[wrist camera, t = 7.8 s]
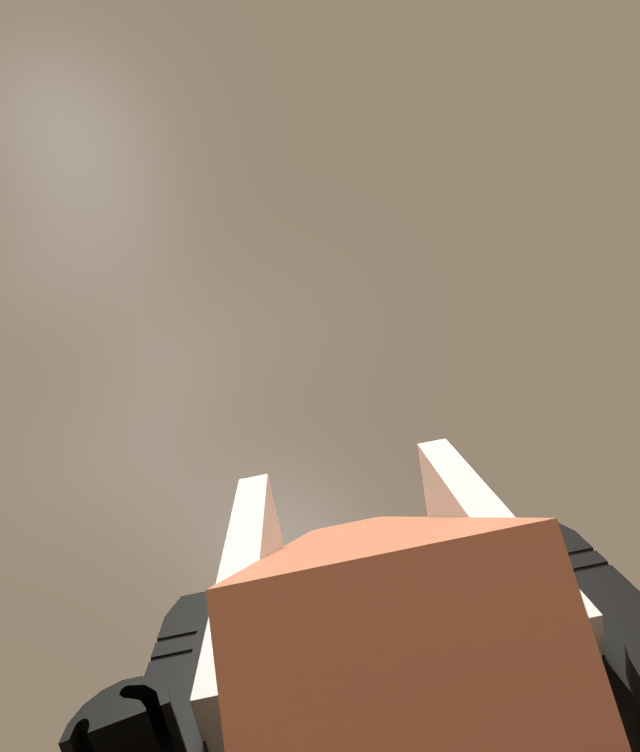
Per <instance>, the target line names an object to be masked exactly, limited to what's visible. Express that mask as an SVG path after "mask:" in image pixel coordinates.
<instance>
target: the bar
mask: <svg viewBox="0 0 640 752" xmlns="http://www.w3.org/2000/svg"><path fill="white" fill-rule="evenodd" d="M206 597H207V605H208V614H209V623H210V631H211V640H212V648H213V657H214V665H215V674H216V682H217V691H218V700H219V708H220V717H221V725H222V734H223V742H224V751H225V752H632V751H631V748H630V745H629V742H628V739H627V736H626V733H625V730H624V726H623V723H622V720H621V717H620V714H619V711H618V708H617V705H616V701H615V698H614V695H613V692H612V689H611V686H610V683H609V680H608V677H607V673H606V670H605V667H604V664H603V661H602V658H601V655H600V652H599V648H598V645H597V642H596V639H595V636H594V633H593V630H592V627H591V624H590V620H589V617H588V614H587V611H586V608H585V605H584V602H583V599H582V595H581V592H580V589H579V586H578V583H577V580H576V577H575V574H574V571H573V567H572V564H571V561H570V558H569V555H568V552H567V549H566V546H565V542H564V539H563V536H562V533H561V530H560V527H559V524H558V521H557V518H498V517H375V518H370V519H365V520H360V521H355V522H351V523H345V524H340V525H335V526H331V527H326V528H321V529H316V530H312V531H310V532H309V533H307V534H305V535H303V536H302V537H300V538H298V539H296V540H294V541H293V542H291V543H289V544H287V545H285V546H284V547H282V548H280V549H279V550H277V551H275V552H273V553H271V554H270V555H268V556H266V557H264V558H263V559H261V560H258V561H257V562H255V563H253V564H251V565H249V566H248V567H246V568H244V569H242V570H240V571H239V572H237V573H235V574H233V575H231V576H230V577H228V578H226V579H224V580H223V581H221V582H219V583H217V584H215V585H214V586H212V587H210V588H208V589H207V590H206Z"/></svg>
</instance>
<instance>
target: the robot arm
mask: <svg viewBox="0 0 640 752" xmlns="http://www.w3.org/2000/svg"><path fill="white" fill-rule="evenodd" d="M417 445H418V451H419V459H420V466H421V473H422V479H423V486H424V493H425V500H426V507H427V514H428V517H498V518H516V517H515V516H514V515H513V514H512V513H511V512H510V510H509V509H508V508H507V507H506V506H505V505H504V504H503V503H502V501H501V500H500V499H499V498H498V497H497V496H496V495H495V494H494V492H493V491H492V490H491V489H490V488H489V487H488V486H487V485H486V484H485V482H484V481H483V480H482V479H481V478H480V477H479V476H478V475H477V474H476V472H475V471H474V470H473V469H472V468H471V467H470V466H469V465H468V463H467V462H466V461H465V460H464V459H463V458H462V457H461V455H460V454H459V453H458V452H457V451H456V450H455V449H454V448H453V446H452V445H451V444H450V443H449V442H448V441H447V440H446V439H440V440H435V441H430V442H425V443H420V444H417ZM558 524H559V523H558ZM559 527H560V530H561V533H562V536H563V539H564V542H565V546H566V549H567V552H568V555H569V558H570V561H571V564H572V567H573V571H574V574H575V577H576V580H577V583H578V586H579V589H580V592H581V595H582V599H583V602H584V605H585V608H586V611H587V614H588V617H589V620H590V624H591V627H592V630H593V633H594V636H595V639H596V642H597V645H598V648H599V652H600V655H601V658H602V661H603V664H604V667H605V670H606V673H607V677H608V680H609V683H610V686H611V689H612V692H613V695H614V698H615V701H616V705H617V708H618V711H619V714H620V717H621V720H622V723H623V726H624V730H625V733H626V736H627V739H628V742H629V745H630V748H631V751H632V752H640V591H639V590H638V589H636V588H635V587H634V586H633V585H632V584H631V583H630V582H629V581H628V580H627V579H626V578H625V577H624V576H623V575H622V574H620V573H619V572H618V571H617V570H616V569H615V568H614V567H613V566H612V565H609V564H608V562H607V560H605V558H603V557H602V556H601V555H600V554H599V553H598V552H597V551H594V550H593V547H592V546H591V545H590V544H588V543H587V542H586V541H585V540H584V539H583V538H582V537H581V536H580V535H579V534H578V533H577V532H575V531H574V530H572V529H570V528H568V527H566V526H564V525H561V524H559ZM282 547H284V544H283V539H282V535H281V531H280V526H279V522H278V517H277V513H276V508H275V504H274V500H273V495H272V491H271V487H270V482H269V478H268V474H264V475H259V476H254V477H250V478H244V479H239V482H238V487H237V492H236V496H235V500H234V505H233V510H232V514H231V519H230V523H229V527H228V532H227V536H226V541H225V545H224V550H223V554H222V559H221V563H220V568H219V572H218V577H217V581H216V584H217V583H219V582H221V581H223V580H224V579H226V578H228V577H230V576H231V575H233V574H235V573H237V572H239V571H240V570H242V569H244V568H246V567H248V566H249V565H251V564H253V563H255V562H257V561H258V560H261V559H263V558H264V557H266V556H268V555H270V554H271V553H273V552H275V551H277V550H279V549H280V548H282ZM157 641H158V642H157V643H155V647H154V650H153V652H152V655H151V662H149V664H148V667H147V670H146V673H145V675H144V677H143V676H140V677H136V678H131V679H126V680H122V681H120V682H118V683H116V684H114V685H112V686H110V687H108V688H106V689H104V690H102V691H101V692H99V693H98V694H97V695H96V696H94V697H93V698H92V699H91V700H89V701H88V702H87V703H85V704H84V705H83V706H82V707H81V708H80V710H79V711H78V712H77V713H76V714H75V716H74V717H73V718H72V719H71V720H70V722H69V723H68V724H67V726H66V728H65V731H64V733H63V735H62V737H61V739H60V741H59V743H58V744H59V746H60V749H61V752H225V751H224V742H223V734H222V725H221V717H220V708H219V700H218V691H217V682H216V674H215V665H214V657H213V648H212V640H211V631H210V623H209V614H208V605H207V597H206V591H205V592H200V593H195V594H191V595H186V596H181V597H180V599H179V600H178V601H177V602H176V604H175V605H174V606H173V607H172V608H171V610H170V611H169V612H168V613H167V615H166V616H165V617H164V620H163V623H162V627H161V629H160V632H159V635H158V638H157Z"/></svg>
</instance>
